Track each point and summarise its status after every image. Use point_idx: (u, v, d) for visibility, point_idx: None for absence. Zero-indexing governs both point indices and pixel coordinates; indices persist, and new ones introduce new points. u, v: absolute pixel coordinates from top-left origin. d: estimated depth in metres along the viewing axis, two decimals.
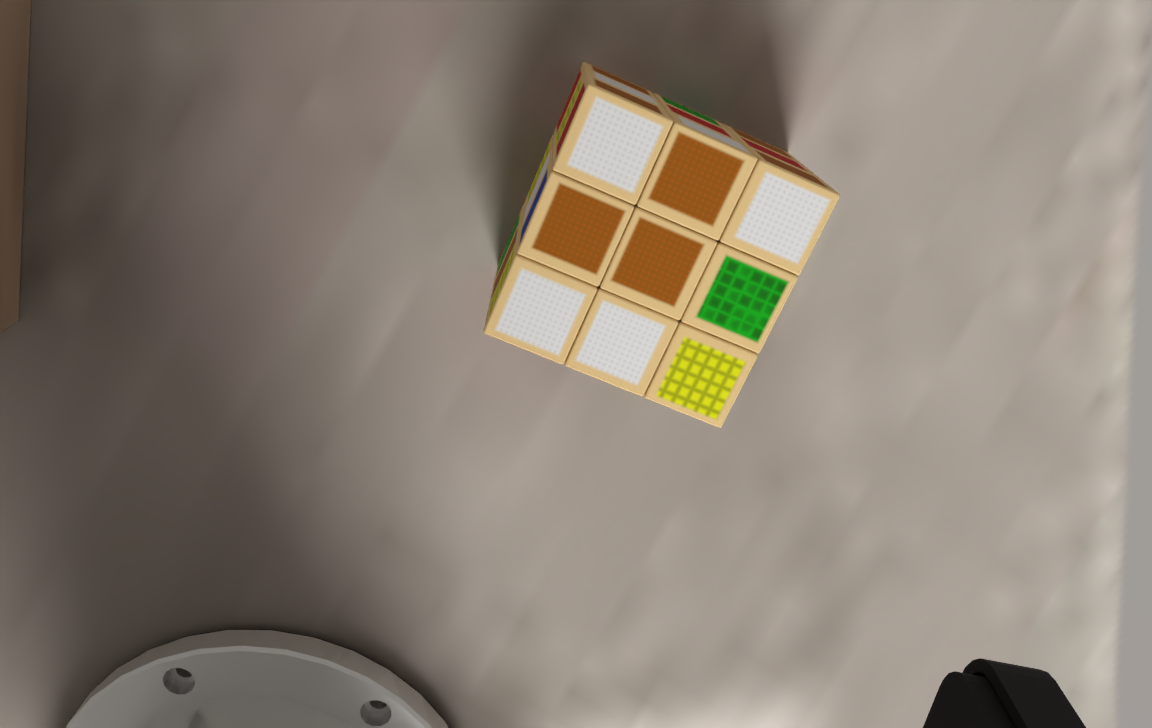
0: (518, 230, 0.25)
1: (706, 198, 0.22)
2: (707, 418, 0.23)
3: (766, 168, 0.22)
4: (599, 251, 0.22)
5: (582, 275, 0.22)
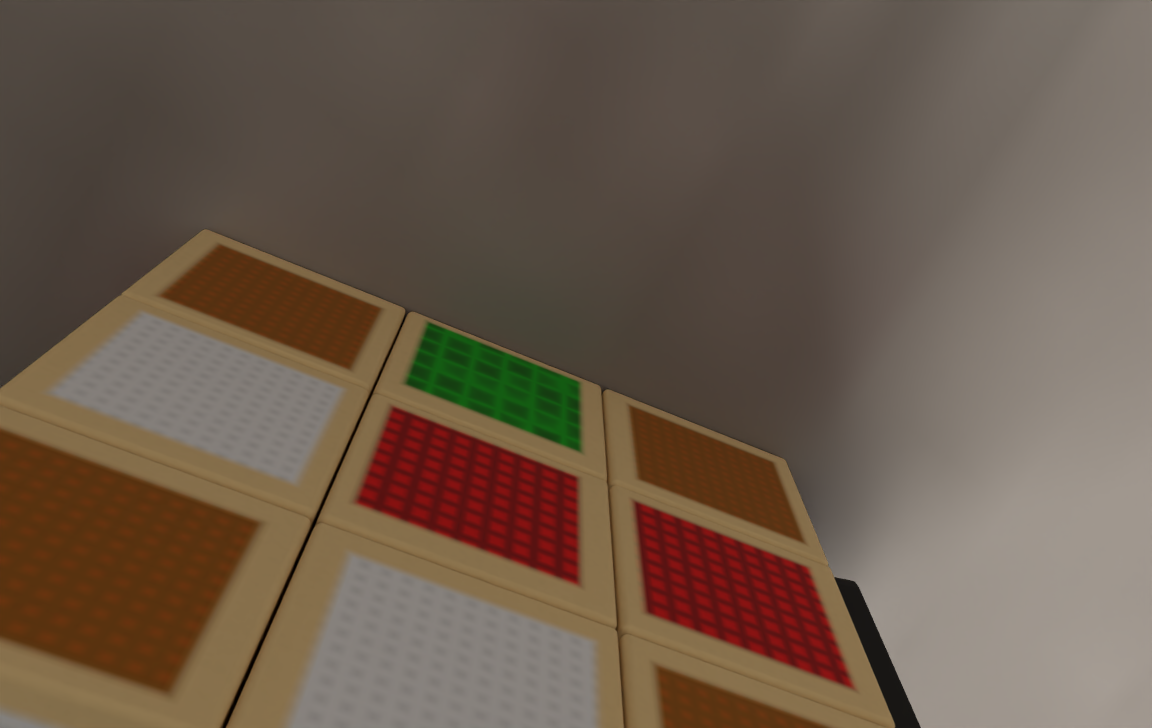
0: None
1: None
2: None
3: None
4: None
5: None
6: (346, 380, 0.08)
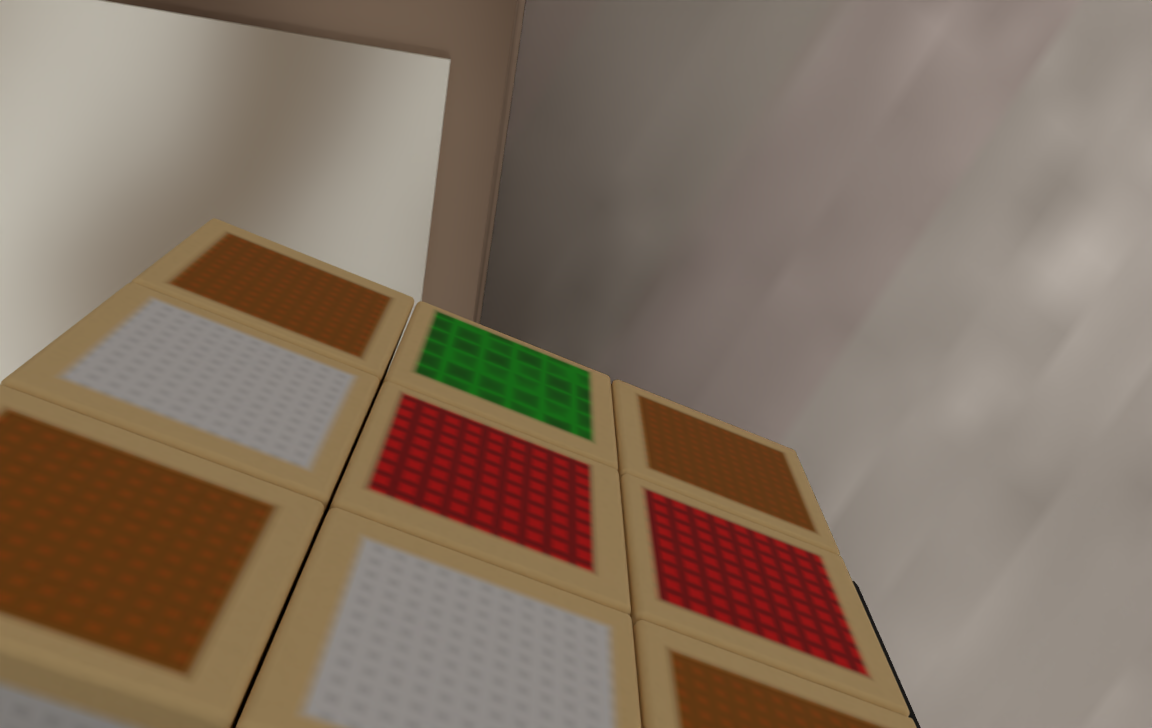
0: None
1: None
2: None
3: None
4: None
5: None
6: (357, 367, 0.08)
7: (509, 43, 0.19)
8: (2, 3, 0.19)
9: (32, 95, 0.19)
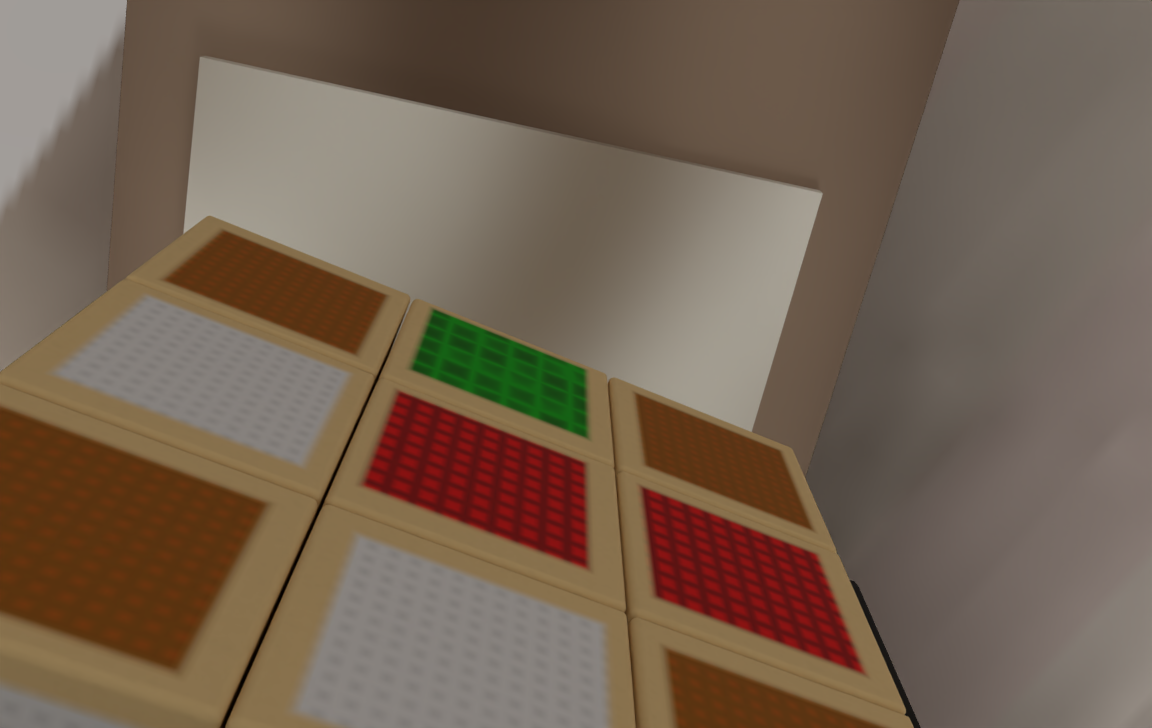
0: None
1: None
2: None
3: None
4: None
5: None
6: (352, 364, 0.08)
7: (900, 173, 0.14)
8: (225, 88, 0.14)
9: (251, 210, 0.14)
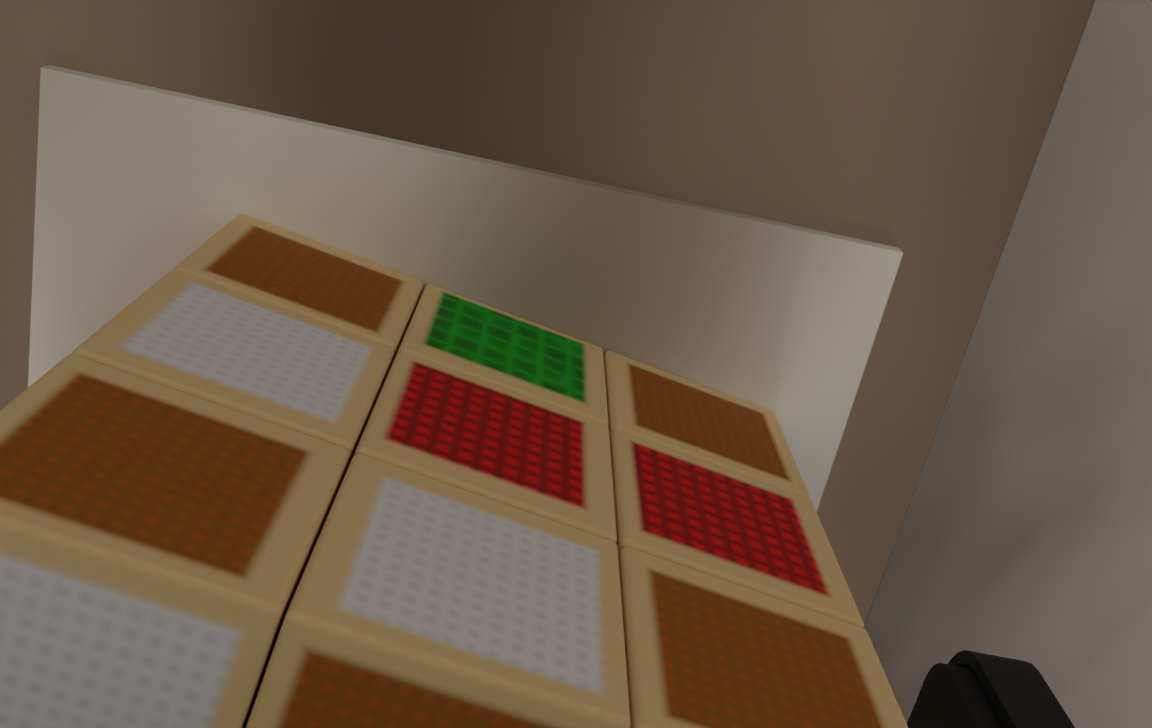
0: None
1: None
2: None
3: None
4: None
5: None
6: (373, 340, 0.09)
7: (1007, 224, 0.10)
8: (78, 111, 0.10)
9: (122, 276, 0.10)
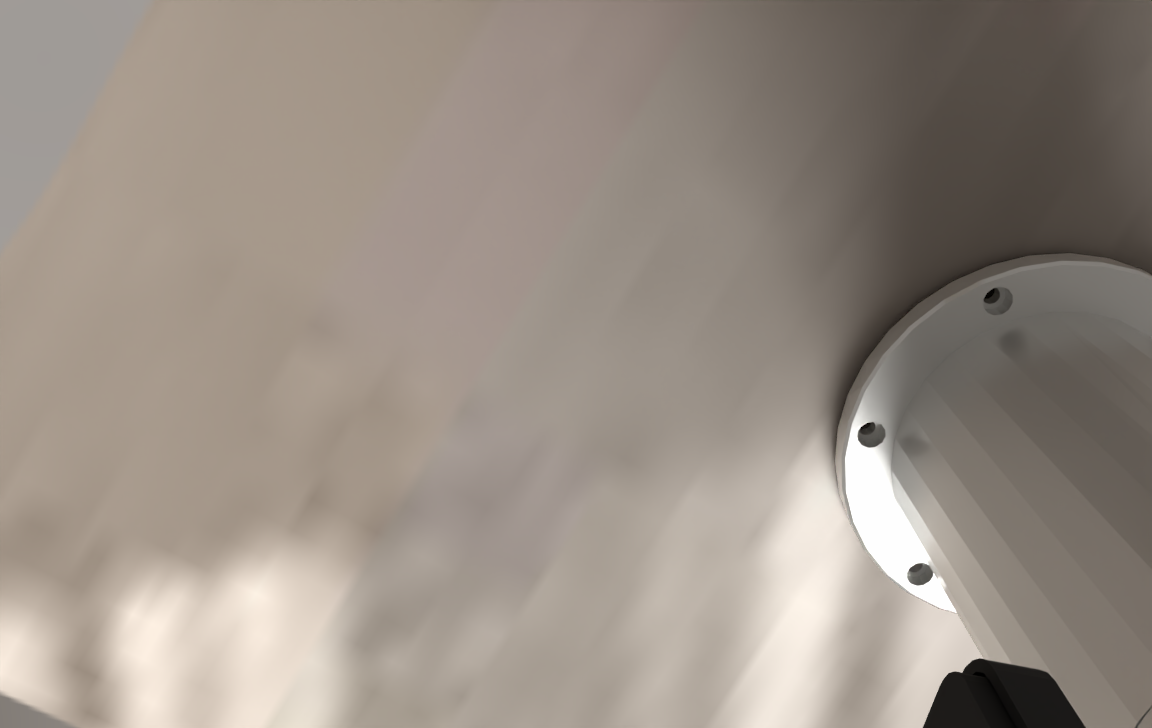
0: None
1: None
2: None
3: None
4: None
5: None
6: None
7: None
8: None
9: None
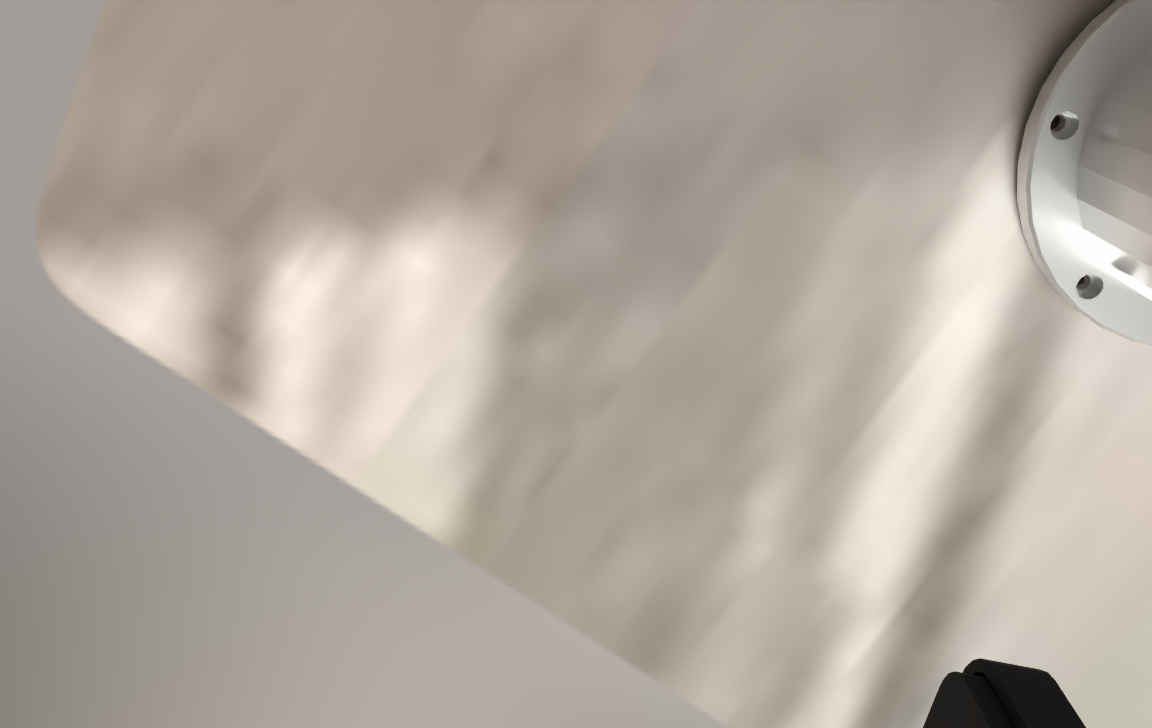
0: None
1: None
2: None
3: None
4: None
5: None
6: None
7: None
8: None
9: None
